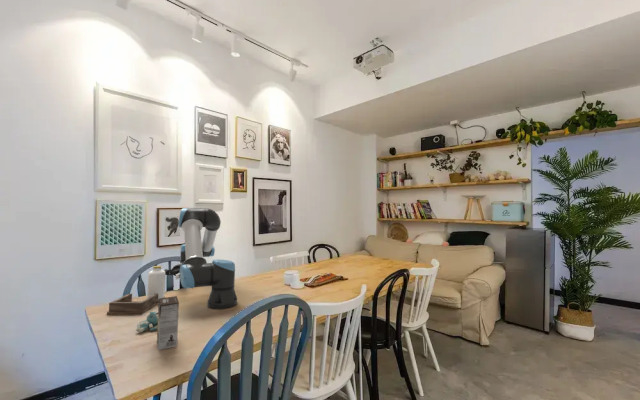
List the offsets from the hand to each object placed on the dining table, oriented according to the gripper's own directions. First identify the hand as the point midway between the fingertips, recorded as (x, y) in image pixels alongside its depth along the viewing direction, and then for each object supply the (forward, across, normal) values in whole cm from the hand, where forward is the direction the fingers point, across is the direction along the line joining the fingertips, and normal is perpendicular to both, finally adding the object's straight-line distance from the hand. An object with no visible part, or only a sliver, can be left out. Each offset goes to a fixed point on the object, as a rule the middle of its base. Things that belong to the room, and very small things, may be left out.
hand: (164, 277), depth 167 cm
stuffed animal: (+49, -18, -10) cm, 53 cm away
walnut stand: (+24, +3, -10) cm, 27 cm away
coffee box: (+63, -31, -10) cm, 71 cm away
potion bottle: (+9, 0, -10) cm, 14 cm away
